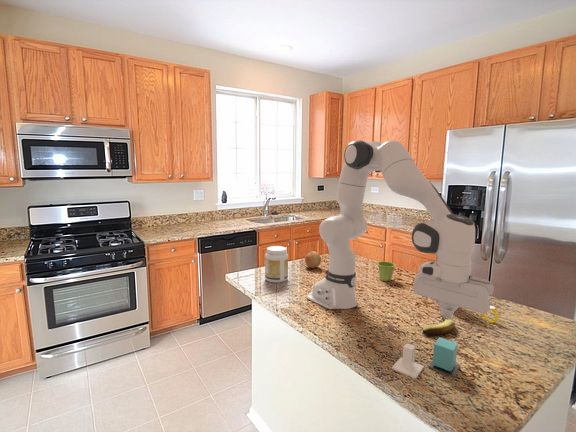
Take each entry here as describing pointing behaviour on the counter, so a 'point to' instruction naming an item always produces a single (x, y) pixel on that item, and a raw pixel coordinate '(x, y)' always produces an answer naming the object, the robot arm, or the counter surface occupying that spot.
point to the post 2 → (449, 373)
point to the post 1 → (408, 363)
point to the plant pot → (386, 270)
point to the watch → (494, 313)
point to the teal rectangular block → (445, 354)
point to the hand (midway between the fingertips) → (446, 316)
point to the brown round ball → (312, 259)
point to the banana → (432, 329)
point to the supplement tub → (276, 264)
